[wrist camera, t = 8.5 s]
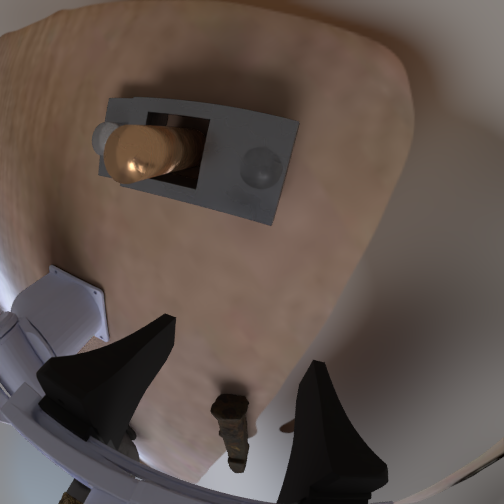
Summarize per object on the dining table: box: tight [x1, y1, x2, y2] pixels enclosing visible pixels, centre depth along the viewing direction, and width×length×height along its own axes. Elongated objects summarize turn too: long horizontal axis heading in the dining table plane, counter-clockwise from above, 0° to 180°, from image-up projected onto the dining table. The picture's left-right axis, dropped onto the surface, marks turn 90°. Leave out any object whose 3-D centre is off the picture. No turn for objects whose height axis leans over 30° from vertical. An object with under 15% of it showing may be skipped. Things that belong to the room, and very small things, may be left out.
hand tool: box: [211, 394, 249, 473], centre depth 30 cm, size 19×4×5 cm, turn 0°
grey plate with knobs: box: [92, 97, 300, 226], centre depth 17 cm, size 15×7×3 cm, turn 77°
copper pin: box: [104, 125, 206, 184], centre depth 15 cm, size 3×3×8 cm
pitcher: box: [59, 426, 140, 504], centre depth 28 cm, size 11×19×30 cm, turn 3°
